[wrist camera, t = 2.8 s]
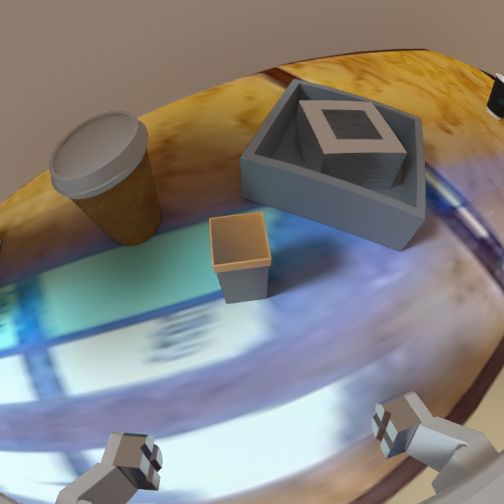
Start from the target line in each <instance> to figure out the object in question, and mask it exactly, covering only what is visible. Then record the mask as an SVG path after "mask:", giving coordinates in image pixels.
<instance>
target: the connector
mask: <svg viewBox="0 0 504 504" xmlns="http://www.w3.org/2000/svg"><path fill="white" fill-rule="evenodd" d="M209 226H210V241H211V254H212V267H213V270H214V273H217V276H218V279H219V282H220V285H221V288H222V292H223V295H224V298H225V301H226V304H229V303H237V302H245V301H252V300H260V299H267V286H268V272H269V266H271V255H270V249H269V244H268V239H267V233H266V228H265V223H264V218H263V213H262V212H254V213H246V214H238V215H230V216H223V217H215V218H209Z"/></svg>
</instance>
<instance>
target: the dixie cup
mask: <svg viewBox="0 0 504 504" xmlns="http://www.w3.org/2000/svg"><path fill="white" fill-rule="evenodd" d="M486 110H487V111H488V113H489V114H490V115H491V116H493V117H494V118H495V119H497V120H501V119H502V118H503V117H504V76H502V75H500V74H498V73H496V78H495V81H494V85H493V88H492V91H491V94H490V97H489V100H488V103H487V108H486Z"/></svg>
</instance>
